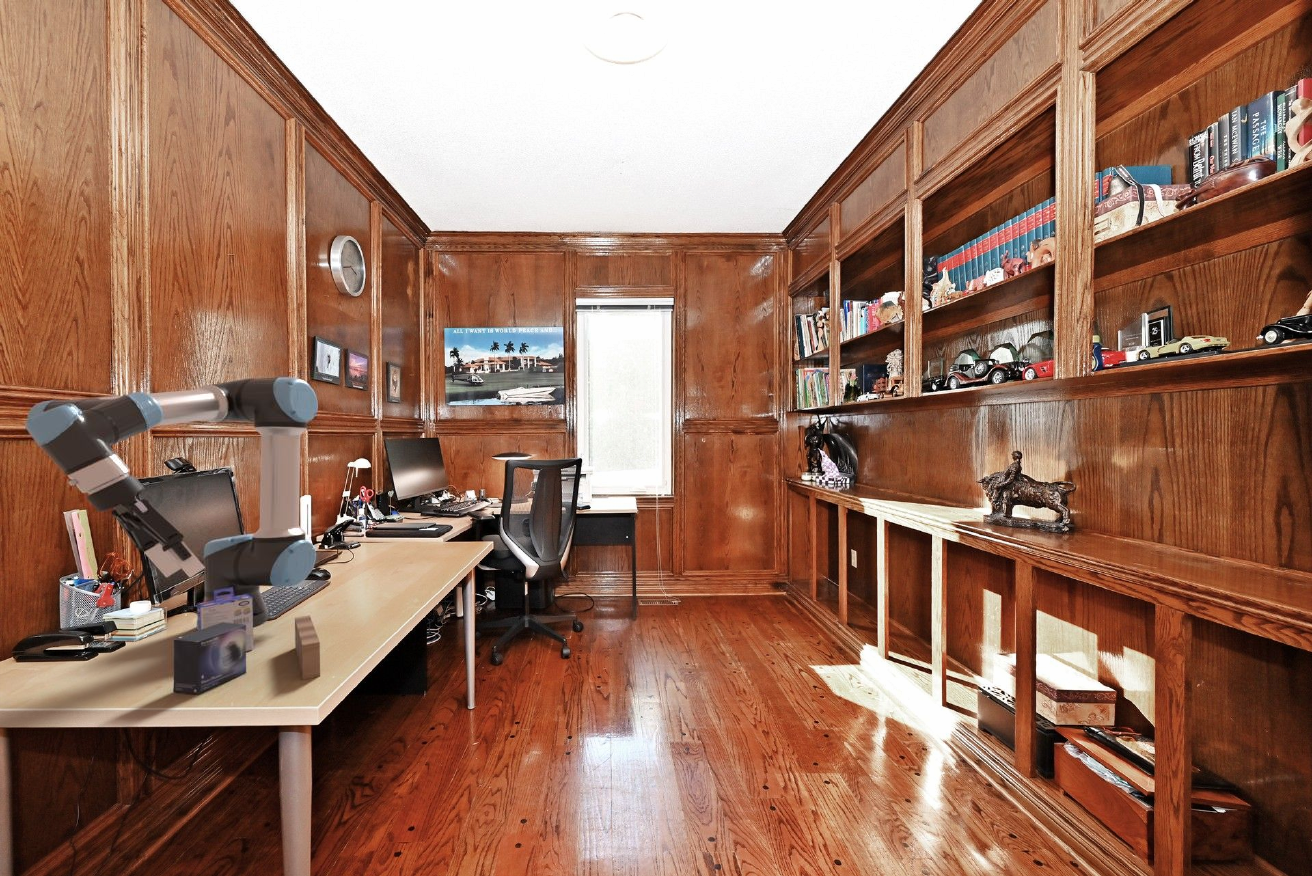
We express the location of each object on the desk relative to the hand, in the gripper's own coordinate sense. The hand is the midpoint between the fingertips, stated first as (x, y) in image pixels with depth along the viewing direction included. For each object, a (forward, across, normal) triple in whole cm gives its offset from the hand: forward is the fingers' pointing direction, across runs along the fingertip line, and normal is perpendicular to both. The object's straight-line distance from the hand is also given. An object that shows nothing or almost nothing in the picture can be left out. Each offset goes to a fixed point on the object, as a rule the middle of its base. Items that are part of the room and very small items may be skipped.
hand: (185, 572), depth 114 cm
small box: (+22, 0, -8) cm, 23 cm away
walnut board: (+29, +4, +5) cm, 30 cm away
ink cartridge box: (+23, -17, 0) cm, 29 cm away
